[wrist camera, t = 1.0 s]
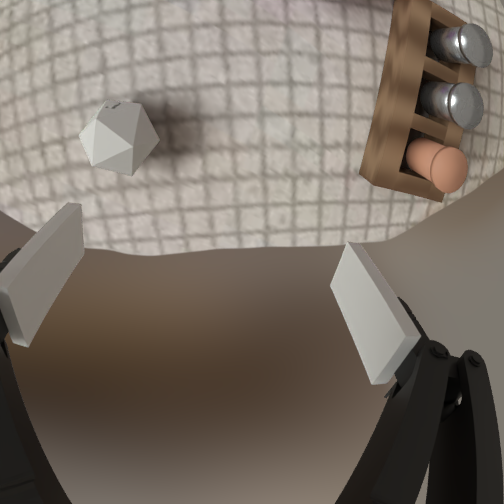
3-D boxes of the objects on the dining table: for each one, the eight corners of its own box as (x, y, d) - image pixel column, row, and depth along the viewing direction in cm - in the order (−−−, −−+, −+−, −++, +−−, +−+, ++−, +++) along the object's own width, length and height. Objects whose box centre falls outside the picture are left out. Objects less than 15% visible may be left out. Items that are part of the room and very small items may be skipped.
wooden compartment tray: (394, -2, 26) (413, -9, 22) (458, 33, 28) (479, 32, 24) (358, 173, 40) (373, 185, 36) (423, 189, 42) (441, 202, 37)
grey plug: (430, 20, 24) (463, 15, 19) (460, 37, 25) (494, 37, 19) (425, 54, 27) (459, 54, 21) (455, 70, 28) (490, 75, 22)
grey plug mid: (422, 72, 28) (456, 75, 23) (452, 87, 29) (486, 94, 23) (414, 111, 31) (447, 120, 25) (445, 124, 32) (477, 135, 26)
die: (178, 127, 36) (146, 85, 26) (150, 192, 35) (106, 165, 26) (126, 118, 37) (89, 81, 27) (100, 177, 37) (53, 151, 27)
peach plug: (410, 130, 32) (441, 142, 26) (440, 141, 33) (472, 155, 27) (399, 169, 35) (428, 187, 29) (429, 178, 36) (459, 197, 30)
